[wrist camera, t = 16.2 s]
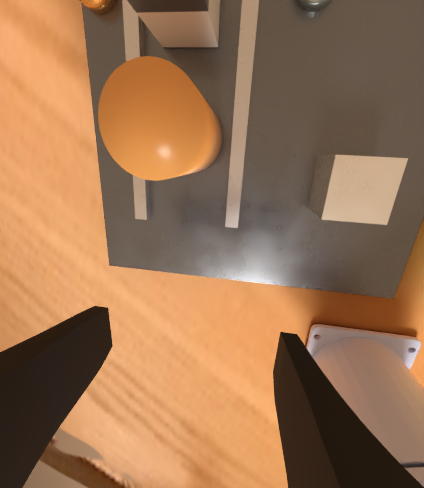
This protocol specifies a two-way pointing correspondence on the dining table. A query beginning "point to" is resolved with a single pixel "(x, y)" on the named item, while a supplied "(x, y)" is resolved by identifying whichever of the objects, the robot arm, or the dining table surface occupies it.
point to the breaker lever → (181, 21)
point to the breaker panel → (280, 146)
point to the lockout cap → (157, 120)
